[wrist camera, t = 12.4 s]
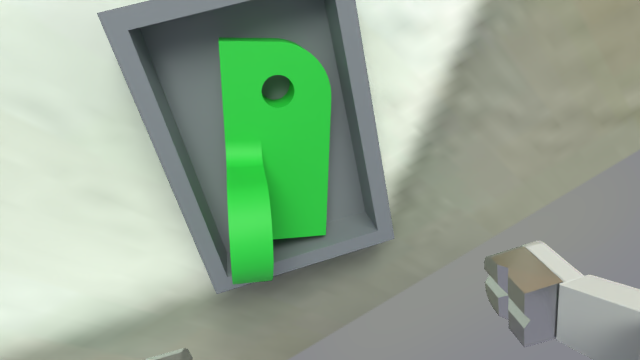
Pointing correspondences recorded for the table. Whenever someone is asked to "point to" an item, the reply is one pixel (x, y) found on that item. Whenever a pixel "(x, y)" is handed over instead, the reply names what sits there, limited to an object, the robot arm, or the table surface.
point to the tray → (207, 106)
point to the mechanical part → (273, 150)
